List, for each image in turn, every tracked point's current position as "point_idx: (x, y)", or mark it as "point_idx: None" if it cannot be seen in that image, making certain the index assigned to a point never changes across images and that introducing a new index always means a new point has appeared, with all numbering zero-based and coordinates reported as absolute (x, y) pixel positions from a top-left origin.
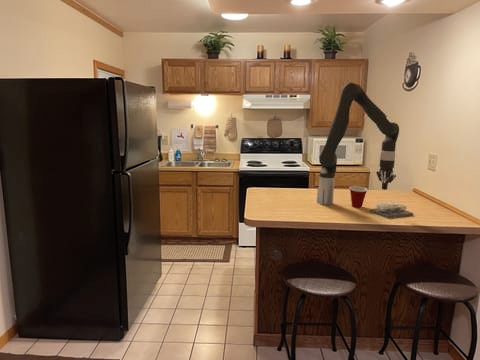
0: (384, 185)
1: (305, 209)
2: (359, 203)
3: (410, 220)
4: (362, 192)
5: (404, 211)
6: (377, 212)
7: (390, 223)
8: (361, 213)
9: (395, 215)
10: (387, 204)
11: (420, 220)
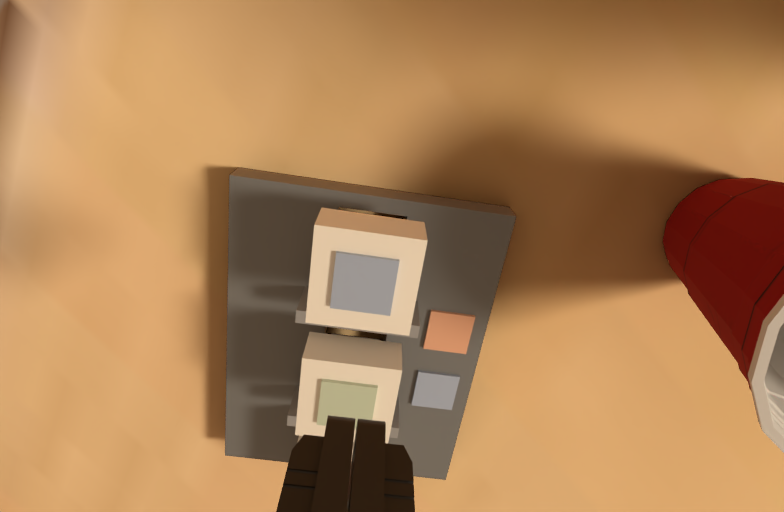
0: (312, 500)
1: None
2: (698, 225)
3: (117, 308)
4: (775, 297)
5: (287, 432)
6: (393, 196)
7: (77, 36)
8: (514, 50)
9: (229, 272)
10: (373, 359)
11: (95, 378)
